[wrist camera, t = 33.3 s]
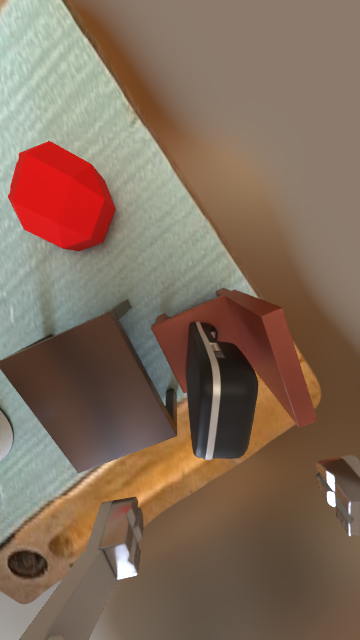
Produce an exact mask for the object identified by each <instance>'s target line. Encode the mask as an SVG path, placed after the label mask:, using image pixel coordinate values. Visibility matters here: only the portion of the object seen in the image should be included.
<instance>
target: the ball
mask: <svg viewBox="0 0 360 640" xmlns="http://www.w3.org/2000/svg"><path fill="white" fill-rule="evenodd" d="M10 188H11V189H10V194H9V195H8V198H9V200H10V202H11V204H12V206H13V208H14V210H15V212H16V214H17V216H18V218H19V220H20V222H21V224H22V226H23V228H24V230H26V231H28V232H30V233H32V234H34V235H36V236H38V237H41V238H43V239H45V240H47V241H49V242H51V243H53V244H55V245H57V246H59V247H61V248H63V249H70V250H76V251H81V250H84V249H86V248H89V247H92V246H95V245H97V244H100V243H103V241H104V238H105V236H106V233H107V230H108V228H109V225H110V222H111V220H112V217H113V215H114V212H115V207H114V204H113V201H112V199H111V196H110V193H109V191H108V188H107V185H106V183H105V180H104V179H103V178H102V177H101V175H100V174H99V173H98V172H97V170H96V169H95V168H94V167H93V166H92V164H90V163H88V162H87V161H85V160H83V159H81V158H79V157H78V156H76V155H74V154H72V153H70V152H69V151H67V150H65V149H63V148H61V147H60V146H58V145H56V144H54V143H52V142H51V141H48V142H46V143H43V144H41V145H38V146H36V147H33V148H31V149H28V150H26V151H23V152H21V153H19V160H18V162H17V164H16V167H15V171H14V175H13V179H12V183H11V187H10Z"/></svg>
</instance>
